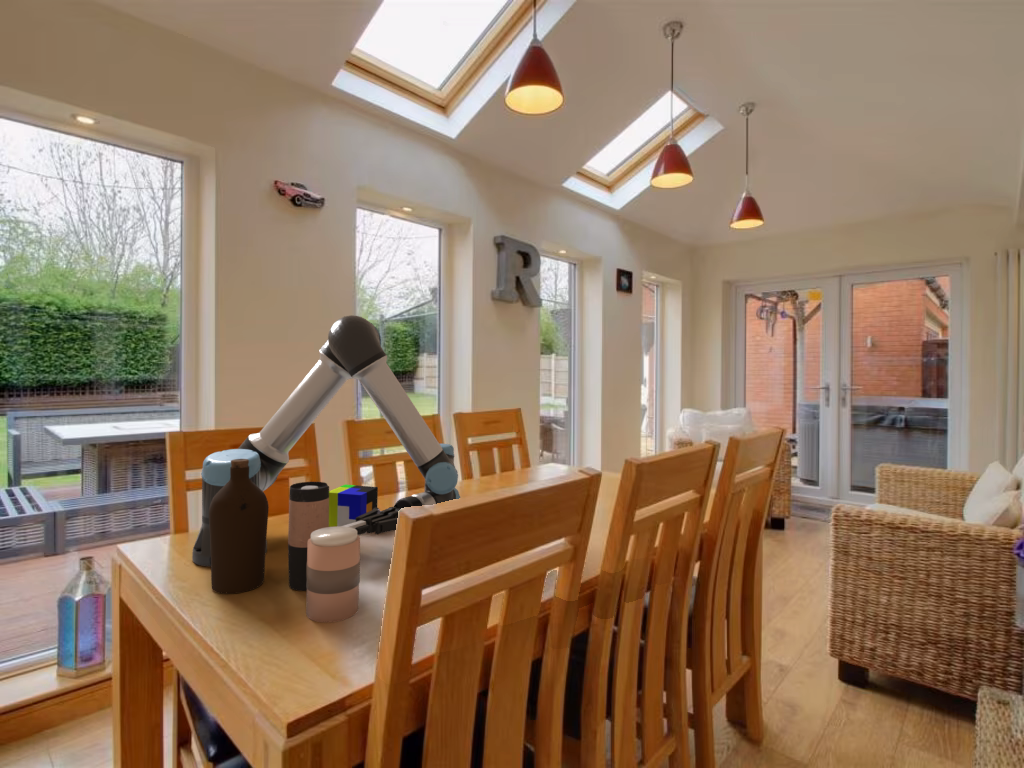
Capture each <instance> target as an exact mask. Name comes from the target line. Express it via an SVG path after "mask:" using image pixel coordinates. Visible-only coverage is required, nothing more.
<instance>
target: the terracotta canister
mask: <svg viewBox="0 0 1024 768" xmlns="http://www.w3.org/2000/svg"><path fill="white" fill-rule="evenodd" d="M360 552H361V537H360V535H359V536H358V535H357V530H356V529H354V528H351V527H342V526H336V527H326V528H321V529H318V530H315V531H314V532H312V533H311V538H310V539H309V540H308V548H307V570H306V588H307V591H306V604H305V605H306V607H305V609H306V612H305V613H306V617H307V618H308V619H310V620H311V621H314V622H317V623H333V622H334V623H336V622H341V621H344V620H347V619H349V618H351V617H353V616H355V615H356V614H357V613H358V612H359V609H360V608H359V604H360V583H361V582H360V581H361V558H360V557H361V556H360V555H361V553H360Z"/></svg>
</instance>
